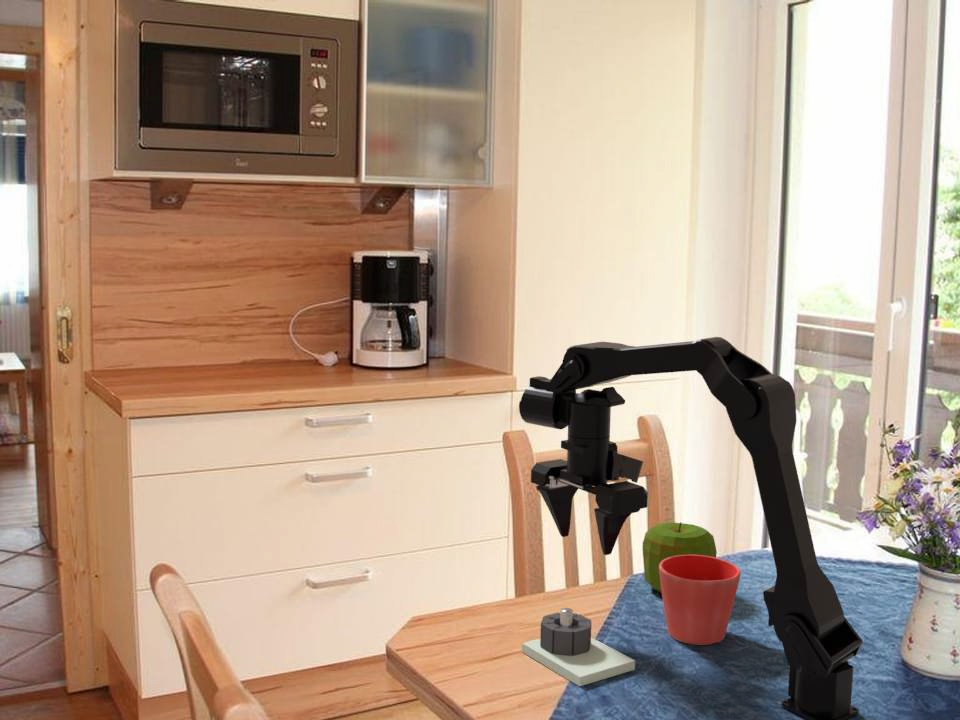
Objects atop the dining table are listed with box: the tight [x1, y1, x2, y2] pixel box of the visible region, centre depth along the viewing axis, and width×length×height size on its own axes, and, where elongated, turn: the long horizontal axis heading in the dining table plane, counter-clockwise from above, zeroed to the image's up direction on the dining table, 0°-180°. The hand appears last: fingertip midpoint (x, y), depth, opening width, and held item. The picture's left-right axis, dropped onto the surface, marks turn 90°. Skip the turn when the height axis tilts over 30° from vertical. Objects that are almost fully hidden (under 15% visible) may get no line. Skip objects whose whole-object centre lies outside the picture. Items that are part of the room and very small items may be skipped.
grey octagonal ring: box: [539, 612, 592, 656], centre depth 139 cm, size 6×6×3 cm
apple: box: [642, 521, 718, 594], centre depth 163 cm, size 11×11×11 cm
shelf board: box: [521, 636, 636, 687], centre depth 138 cm, size 12×9×1 cm
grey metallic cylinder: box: [559, 607, 574, 627], centre depth 139 cm, size 2×2×6 cm
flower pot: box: [659, 555, 741, 646], centre depth 146 cm, size 11×11×10 cm
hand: (585, 545), depth 147 cm, fingers open, 9 cm apart
